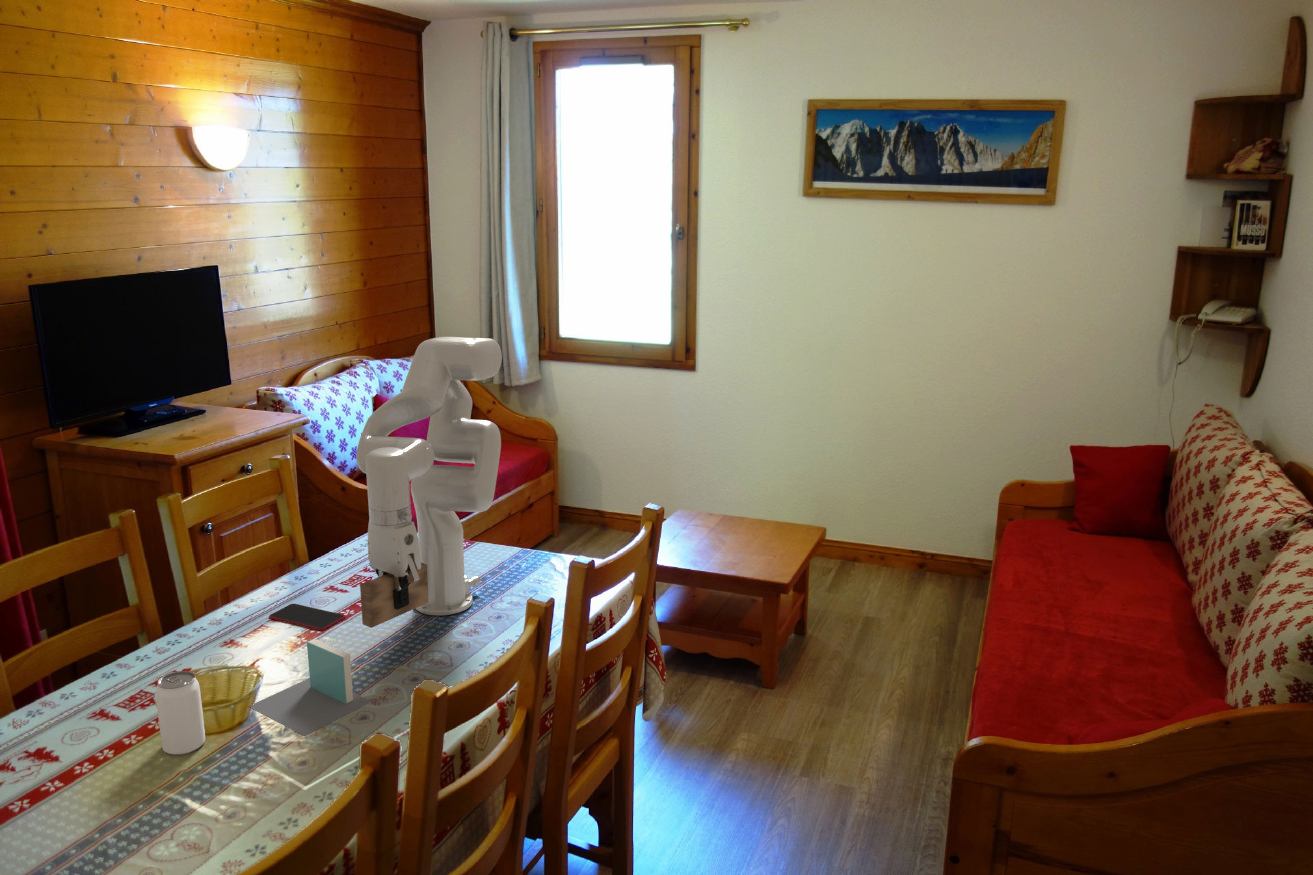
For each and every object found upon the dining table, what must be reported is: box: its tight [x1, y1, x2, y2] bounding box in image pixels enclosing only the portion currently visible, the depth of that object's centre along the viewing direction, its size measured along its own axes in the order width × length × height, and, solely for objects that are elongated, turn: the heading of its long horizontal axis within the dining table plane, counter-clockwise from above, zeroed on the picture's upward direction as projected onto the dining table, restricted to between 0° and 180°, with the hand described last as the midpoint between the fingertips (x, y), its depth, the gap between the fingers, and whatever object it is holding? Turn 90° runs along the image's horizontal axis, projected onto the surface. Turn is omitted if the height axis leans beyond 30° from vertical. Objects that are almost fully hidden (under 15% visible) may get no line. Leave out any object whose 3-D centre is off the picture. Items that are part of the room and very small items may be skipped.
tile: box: [306, 638, 354, 704], centre depth 178 cm, size 2×10×9 cm, turn 55°
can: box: [155, 670, 206, 756], centre depth 161 cm, size 6×6×12 cm
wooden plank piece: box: [359, 563, 429, 629], centre depth 188 cm, size 14×2×8 cm, turn 145°
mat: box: [251, 677, 373, 737], centre depth 175 cm, size 14×16×1 cm
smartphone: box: [268, 603, 346, 632], centre depth 210 cm, size 7×1×15 cm
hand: (396, 603), depth 189 cm, fingers closed on wooden plank piece, 2 cm apart
